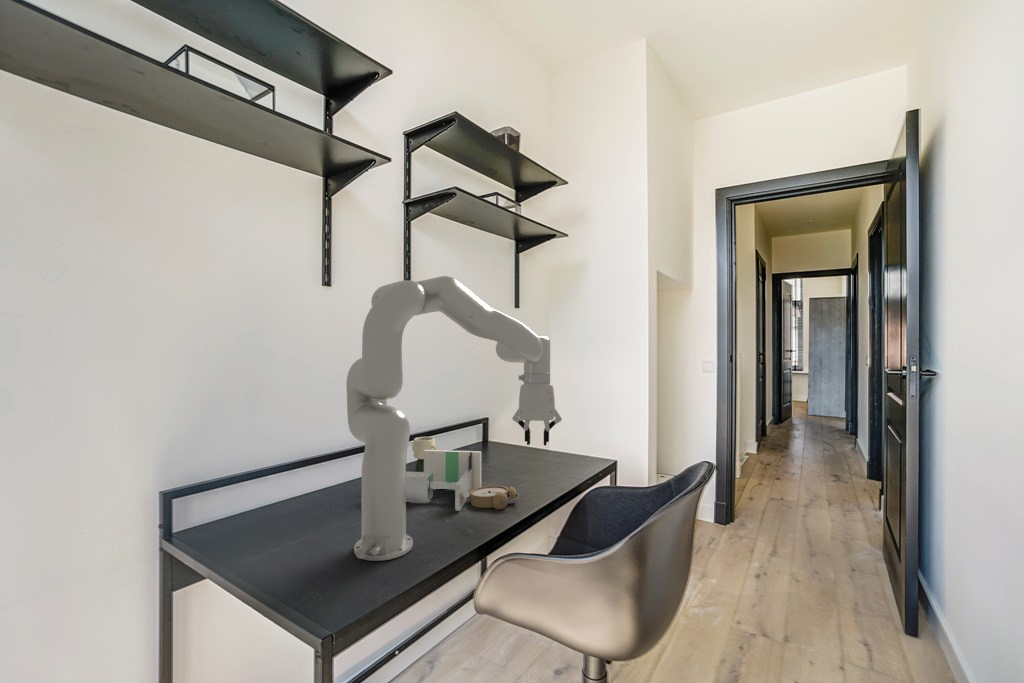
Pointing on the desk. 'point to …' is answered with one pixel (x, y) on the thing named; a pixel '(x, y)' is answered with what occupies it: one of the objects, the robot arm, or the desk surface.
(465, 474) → the grey t-shaped piece
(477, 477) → the board
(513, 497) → the alarm clock
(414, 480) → the block
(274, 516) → the desk surface
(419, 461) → the character mug
